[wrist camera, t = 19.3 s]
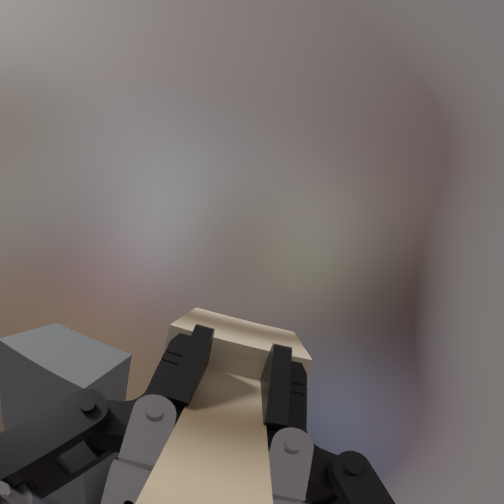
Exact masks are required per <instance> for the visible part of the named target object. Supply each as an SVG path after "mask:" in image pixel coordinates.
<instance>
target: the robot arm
mask: <svg viewBox="0 0 504 504" xmlns="http://www.w3.org/2000/svg"><path fill="white" fill-rule="evenodd" d="M214 331H215V329H213V328H210V327H206V326H202V325H199V324H196V325H195V327H194V330H193V332H192V335H191V336H189V335H185V334H182V333H179V334H178V335H177V336H175V337H174V338H173V339H171V340H170V342H169V344H168V346H167V348H166V350H165V352H164V354H163V356H162V359H161V361H160V363H159V365H158V367H157V369H156V371H155V373H154V375H153V377H152V379H151V382H150V384H149V386H148V388H147V390H146V391H145V393H144V394H143V395H142V396H140V397H139V398H137V399H135V400H131V401H116V400H106V398H105V397H104V396H103V395H102V394H101V393H100V392H98V391H96V390H93V389H80V390H78V391H76V392H74V393H72V394H70V395H69V396H67V397H65V398H63V399H62V400H60V401H58V402H56V403H55V404H53V405H51V406H49V407H47V408H46V409H44V410H42V411H40V412H38V413H37V414H35V415H33V416H31V417H29V418H28V419H26V420H24V421H22V422H20V423H19V424H17V425H15V426H13V427H11V428H9V429H7V430H6V431H4V432H2V433H0V504H43V501H42V499H43V498H44V497H46V496H48V495H49V494H51V493H53V492H54V491H56V490H58V489H59V488H61V487H63V486H64V485H66V484H68V483H69V482H71V481H72V480H74V479H75V478H77V477H79V476H80V475H82V474H83V473H85V472H86V471H88V470H89V469H91V468H92V467H94V466H95V465H97V464H98V463H100V462H101V461H103V460H104V459H106V458H107V457H109V456H110V455H112V454H113V453H114V452H117V453H119V455H118V457H117V458H115V459H114V460H113V462H112V464H111V467H110V470H109V473H108V477H107V481H106V484H105V488H104V492H103V496H102V500H101V504H135V503H136V501H137V499H138V497H139V495H140V493H141V491H142V489H143V487H144V485H145V483H146V482H147V480H148V478H149V476H150V474H151V472H152V470H153V468H154V466H155V464H156V462H157V460H158V458H159V456H160V454H161V452H162V450H163V448H164V446H165V445H166V443H167V441H168V439H169V437H170V435H171V433H172V431H173V429H174V427H175V425H176V423H177V421H178V419H179V417H180V415H181V413H182V411H183V409H184V407H185V406H187V407H188V406H189V404H190V402H191V400H192V397H193V395H194V393H195V391H196V389H197V387H198V385H199V383H200V381H201V379H202V377H203V374H204V372H205V370H206V368H207V365H208V361H209V357H210V353H211V347H212V342H213V337H214ZM260 384H261V398H262V413H263V425H266V429H267V441H268V452H269V463H270V475H271V486H272V497H273V504H395V502H394V501H393V499H392V498H391V496H390V495H389V493H388V491H387V490H386V488H385V487H384V485H383V484H382V482H381V480H380V479H379V477H378V476H377V474H376V472H375V471H374V469H373V468H372V466H371V465H370V463H369V461H368V460H367V459H366V457H365V456H363V455H362V454H360V453H358V452H355V451H346V452H343V453H341V454H339V455H335V454H333V453H330V452H328V451H325V450H323V449H321V448H319V447H317V446H316V445H315V444H314V443H313V441H312V439H311V438H310V436H309V435H308V434H307V430H306V419H307V418H306V416H307V396H306V395H307V387H306V386H307V373H306V371H305V369H304V367H303V364H302V363H300V362H295V361H292V347H288V346H283V345H279V344H274V343H273V345H272V347H271V350H270V352H269V355H268V358H267V360H266V363H265V365H264V368H263V372H262V375H261V379H260Z"/></svg>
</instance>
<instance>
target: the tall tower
mask: <svg viewBox="0 0 504 504" xmlns="http://www.w3.org/2000/svg"><path fill="white" fill-rule="evenodd" d="M131 357H132V355H131V354H129V353H126V352H123V351H121V350H118V349H116V348H113V347H111V346H108V345H106V344H103V343H101V342H98V341H96V340H94V339H91V338H89V337H87V336H84V335H82V334H80V333H77V332H75V331H73V330H71V329H69V328H66V327H64V326H62V325H60V324H58V323H55V324H51V325H48V326H44V327H40V328H37V329H33V330H30V331H26V332H22V333H18V334H14V335H11V336H7V337H3V338H0V398H1V407H2V415H3V422H4V429H5V431H6V430H7V429H9V428H11V427H13V426H15V425H17V424H19V423H20V422H22V421H24V420H26V419H28V418H29V417H31V416H33V415H35V414H37V413H38V412H40V411H42V410H44V409H46V408H47V407H49V406H51V405H53V404H55V403H56V402H58V401H60V400H62V399H63V398H65V397H67V396H69V395H70V394H72V393H74V392H76V391H78V390H80V389H93V390H96V391H98V392H100V393H101V394H102V395H103V396H104V397H105V398H106V400H116V401H125V399H126V391H127V383H128V376H129V370H130V362H131ZM118 455H119V453H117V452H114V453H113V454H112V455H110V456H109V457H107V458H106V459H104V460H103V461H101V462H100V463H98V464H97V465H95V466H94V467H92V468H91V469H89V470H88V471H86V472H85V473H83V474H82V475H80V476H79V477H77V478H75V479H74V480H72V481H71V482H69V483H68V484H66V485H64V486H63V487H61V488H59V489H58V490H56V491H54V492H53V493H51V494H49V495H48V496H46V497H44V498H43V499H42V501H43V504H101V500H102V496H103V492H104V488H105V484H106V481H107V477H108V473H109V470H110V467H111V464H112V462H113V460H114V459H115V458H117V457H118Z"/></svg>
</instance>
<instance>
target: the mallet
mask: <svg viewBox="0 0 504 504" xmlns="http://www.w3.org/2000/svg"><path fill="white" fill-rule="evenodd" d="M196 324H199V325H202V326H206V327H210V328H213V329H215V331H214V337H213V342H212V347H211V353H210V357H209V361H208V365H207V368H206V370H205V372H204V374H203V377H202V379H201V381H200V383H199V385H198V387H197V389H196V391H195V393H194V395H193V397H192V400H191V402H190V404H189V406H188V407H187V406H185V407H184V409H183V411H182V413H181V415H180V417H179V419H178V421H177V423H176V425H175V427H174V429H173V431H172V433H171V435H170V437H169V439H168V441H167V443H166V445H165V446H164V448H163V450H162V452H161V454H160V456H159V458H158V460H157V462H156V464H155V466H154V468H153V470H152V472H151V474H150V476H149V478H148V480H147V482H146V483H145V485H144V487H143V489H142V491H141V493H140V495H139V497H138V499H137V501H136V503H135V504H273V497H272V486H271V475H270V463H269V452H268V441H267V429H266V425H263V413H262V398H261V384H260V379H261V375H262V372H263V368H264V365H265V363H266V360H267V358H268V355H269V352H270V350H271V347H272V345H273V343H274V344H279V345H283V346H288V347H292V361H295V362H300V363H302V364H303V367H304V369H305V371H306V373H307V376H308V373H309V370H310V367H311V364H312V358H311V357H310V356H309V354H308V353H307V351H306V350H305V348H304V347H303V345H302V344H301V342H300V341H299V339H298V338H297V336H296V335H295V333H294V332H292V331H288V330H283V329H279V328H274V327H270V326H265V325H262V324H258V323H254V322H250V321H246V320H242V319H237V318H234V317H230V316H226V315H222V314H218V313H215V312H211V311H207V310H204V309H200V308H195V309H193V310H192V311H190V312H189V313H187V314H186V315H184V316H183V317H181V318H179V319H178V320H176V321H175V322H174V323H172V324H170V327H169V331H168V336H167V341H166V346H165V350H166V348H167V346H168V344H169V342H170V340H171V339H173V338H174V337H175V336H177V335H178V334H179V333H182V334H185V335H189V336H191V335H192V332H193V330H194V327H195V325H196ZM165 350H164V352H165Z"/></svg>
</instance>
